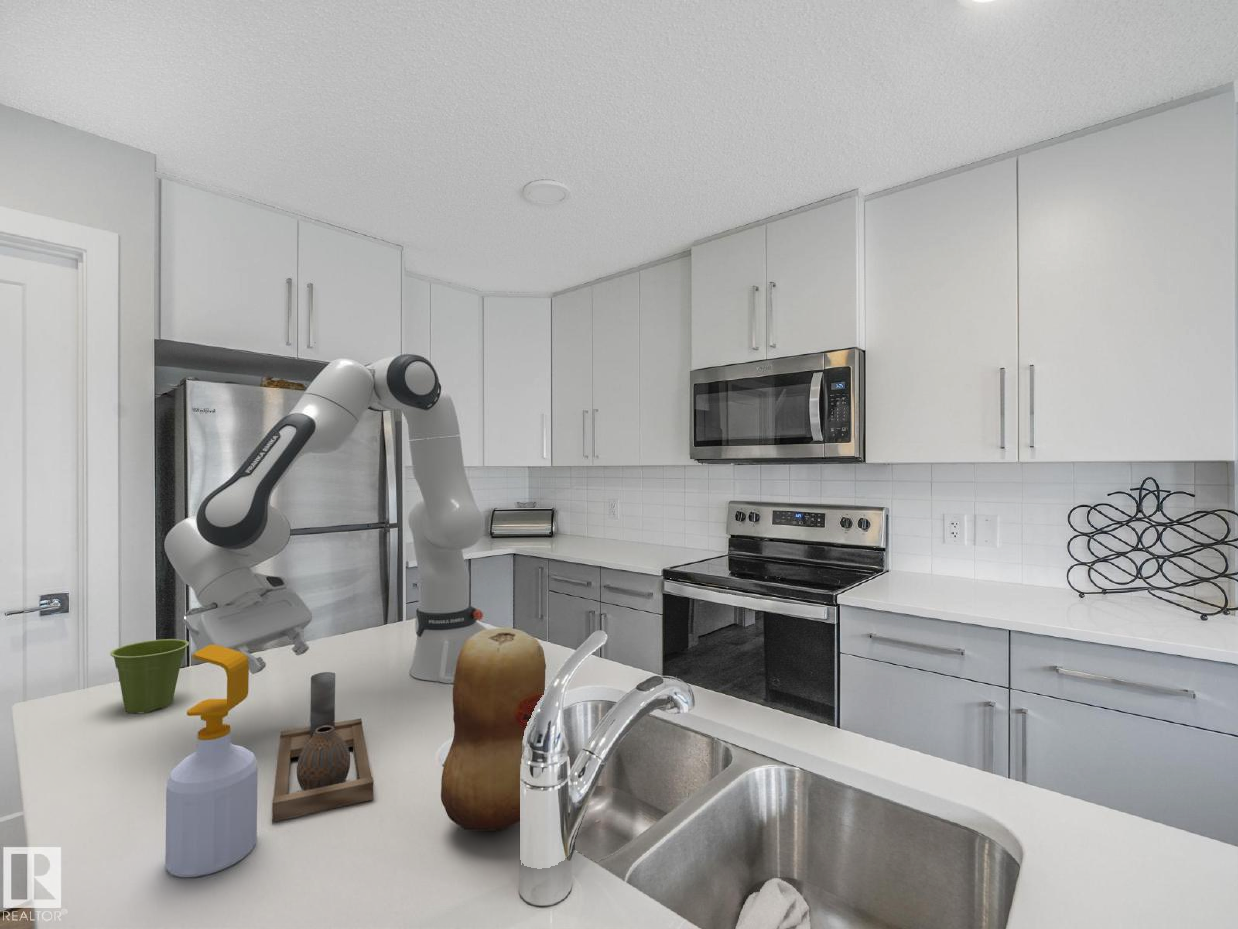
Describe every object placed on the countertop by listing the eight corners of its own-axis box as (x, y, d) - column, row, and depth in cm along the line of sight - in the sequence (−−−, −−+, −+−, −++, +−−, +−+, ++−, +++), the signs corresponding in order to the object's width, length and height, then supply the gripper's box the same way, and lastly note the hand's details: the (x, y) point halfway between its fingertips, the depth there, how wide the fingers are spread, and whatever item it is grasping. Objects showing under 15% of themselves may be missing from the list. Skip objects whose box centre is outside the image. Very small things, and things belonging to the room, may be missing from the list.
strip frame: (361, 732, 104) (362, 664, 104) (373, 799, 83) (374, 714, 84) (280, 746, 99) (281, 674, 99) (272, 822, 78) (273, 731, 78)
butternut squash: (497, 871, 69) (500, 655, 69) (418, 833, 76) (421, 636, 76) (568, 813, 81) (570, 628, 81) (494, 784, 88) (496, 614, 88)
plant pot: (190, 708, 114) (191, 649, 114) (108, 725, 106) (109, 661, 106) (185, 690, 123) (186, 634, 123) (109, 704, 115) (110, 645, 115)
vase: (359, 779, 89) (360, 720, 89) (332, 805, 82) (333, 741, 82) (315, 776, 90) (316, 717, 90) (285, 801, 83) (286, 738, 83)
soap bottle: (195, 832, 76) (198, 638, 76) (270, 829, 77) (273, 637, 77) (145, 881, 67) (148, 661, 67) (231, 878, 68) (234, 660, 68)
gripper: (189, 599, 92) (241, 669, 89) (291, 575, 111) (336, 632, 109) (165, 626, 93) (216, 696, 90) (270, 598, 112) (314, 654, 110)
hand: (282, 660), depth 100 cm, fingers open, 8 cm apart
